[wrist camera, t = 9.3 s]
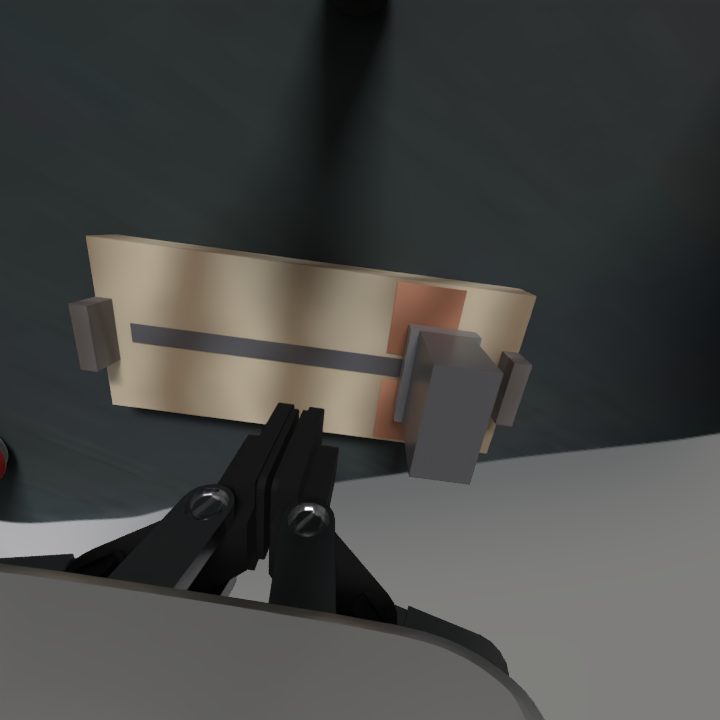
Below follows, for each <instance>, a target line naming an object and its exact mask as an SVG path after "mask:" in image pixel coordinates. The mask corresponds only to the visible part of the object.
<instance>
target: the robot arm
mask: <svg viewBox="0 0 720 720" xmlns="http://www.w3.org/2000/svg"><path fill="white" fill-rule="evenodd" d="M324 412H325V411H324V409H322V408H315V407H309V409H308V410H303V411H302V413H301V416H300V418H299V409H295V407H294V404H288V403H281V402H279V403H278V404H277V406H276V407H275V409H274V411H273V413H272V414H271V416H270V418H269V420H268V421H267V423H266V425H265V427H264V428H263V430H262V432H261V434H260V435H259V436H258V435H251V434H250V435H248V436H247V438H246V439H245V441H244V442H243V444H242V446H241V447H240V449H239V450H238V452H237V454H236V455H235V457H234V458H233V460H232V462H231V463H230V465H229V466H228V468H227V470H226V471H225V473H224V474H223V476H222V478H221V479H220V481H219V482H218V484H210V485H204V486H200V487H197V488H195V489H193V490H192V491H190V492H189V493H187V494H186V495H185V496H184V497H183V498H182V499H181V500H180V501H179V502H178V503H177V504H176V505H175V506H174V507H173V508H172V509H171V511H170V512H169V513H168V514H167V515H166V516H165V517H164V518H163V519H162V520H161V521H158V522H156V523H154V524H151V525H149V526H147V527H144V528H142V529H139V530H137V531H135V532H132V533H130V534H127V535H125V536H123V537H120V538H118V539H116V540H114V541H111V542H108V543H106V544H104V545H101V546H99V547H97V548H94V549H92V550H90V551H88V552H86V553H84V554H83V555H81V556H80V557H78V558H74V555H73V554H61V555H45V556H30V557H14V558H0V720H544V718H543V716H542V715H541V713H540V711H539V710H538V708H537V707H536V705H535V704H534V702H533V701H532V699H531V698H530V697H529V696H528V695H527V693H526V692H525V691H524V690H523V689H522V688H521V687H520V686H519V685H518V684H517V683H516V682H515V681H514V680H513V679H512V678H510V677H509V673H508V669H507V664H506V662H505V660H504V658H503V656H502V654H501V652H500V651H499V650H498V649H497V648H496V647H495V646H494V644H493V643H492V642H491V641H489V640H487V639H486V638H484V637H483V636H481V635H479V634H476V633H474V632H471V631H469V630H466V629H464V628H462V627H459V626H457V625H454V624H452V623H449V622H447V621H445V620H442V619H440V618H437V617H434V616H432V615H430V614H427V613H425V612H422V611H420V610H418V609H415V608H413V607H410V606H408V609H407V610H406V609H404V608H401V607H399V606H397V605H394V602H393V601H392V600H391V598H390V596H389V595H388V593H387V592H386V591H385V590H384V589H383V588H382V587H381V585H380V584H379V583H378V582H377V581H376V580H375V578H374V577H373V576H372V575H371V574H370V572H369V571H368V570H367V569H366V568H365V567H364V565H363V564H362V563H361V562H360V561H359V560H358V558H357V557H356V556H355V555H354V554H353V553H352V552H351V550H350V549H349V548H348V547H347V545H346V544H345V543H344V542H343V541H342V540H341V538H339V536H338V535H337V534H336V533H335V518H334V513H333V511H332V510H331V508H330V502H331V497H332V492H333V487H334V481H335V475H336V468H337V460H338V452H339V447H332V446H325V445H321V443H322V433H323V423H324ZM268 549H269V575H270V576H271V578H272V584H271V591H270V597H269V603H264V602H258V601H251V600H245V599H239V598H232V597H228V596H229V594H230V592H231V591H232V589H233V587H234V585H235V582H236V576H237V575H239V574H241V573H242V572H244V571H246V570H247V569H248V570H255V567H256V565H257V562H258V560H259V559H265V557H266V555H267V552H268Z"/></svg>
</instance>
